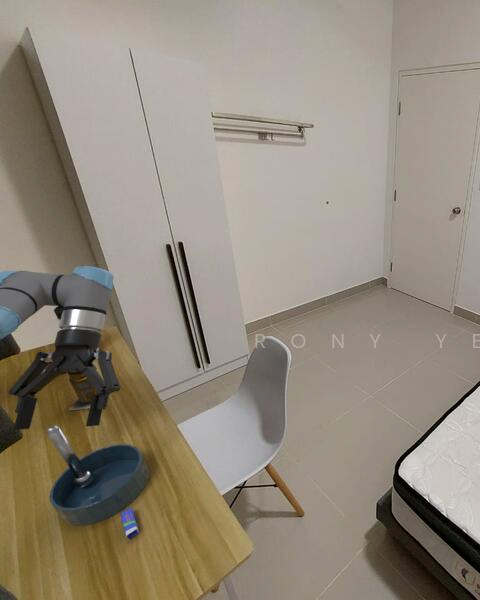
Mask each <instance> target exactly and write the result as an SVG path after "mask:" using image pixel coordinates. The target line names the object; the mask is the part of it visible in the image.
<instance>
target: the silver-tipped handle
mask: <svg viewBox="0 0 480 600" xmlns="http://www.w3.org/2000/svg"><path fill="white" fill-rule="evenodd" d="M61 429H62V428H60V427H59V425H55V424H54V425H50V426H49V427H47V428H46V430H45V433H46V435H47V437H48V439H49V440H50V441H51V443H52V444H53V446H54V447H55V449H56V451H58V454H59V455H60V456H61V458H62V459H63V461H64V463H65V464H66V466H67V468H70V470H71V471H72V473H73V475H74V476H75V477H74V479H73V484H74V485H75V486H76V487H85V486H87V485H89V484H90V483H91V482H92V481H93V479H94V473H93V472H92V471H90V470H86V469H85V468H84V466H83V465H82V463H81V461H80V460H79V459H80V458H79V457H78V455H77V454H76V452H75V450H74V448H73V447H72V445H71V443H70V442H69V441H68V439H67V437H66V436H65V433H64V432H63V431H62V430H61Z"/></svg>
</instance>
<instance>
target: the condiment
mask: <svg viewBox="0 0 480 600" xmlns="http://www.w3.org/2000/svg"><path fill="white" fill-rule="evenodd" d="M66 374H67V376H68V382H69V383H70V385H71V387H72V389H73V391H74V393H75V395H76V396H77V399H76V401H74V403H73V404H72V405H71V406H70V407H69V409H68V411H77V410H88V409H90V405H91V400H92V396H93V395H99V394H95V393H97V392H96V390H95V389H94V388H93V386H92V385H91V384H90V382H89V381H88V379H87V378H86V377H85V375H84V374H83V373H82V372H77V371H72V372H66Z"/></svg>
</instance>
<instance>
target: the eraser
mask: <svg viewBox="0 0 480 600" xmlns="http://www.w3.org/2000/svg"><path fill="white" fill-rule="evenodd" d="M120 516H121V521H122V525H123V529H124V533H125V537H126V538H127V540H131V539H132V538H133V537H135V536H136V535H139V534H140V532H139V527H138V523H137V521H136V517H135V513H134V510H133V508H132V507H129V508H127V509H126V510H124V511H122V512H121V513H120Z"/></svg>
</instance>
